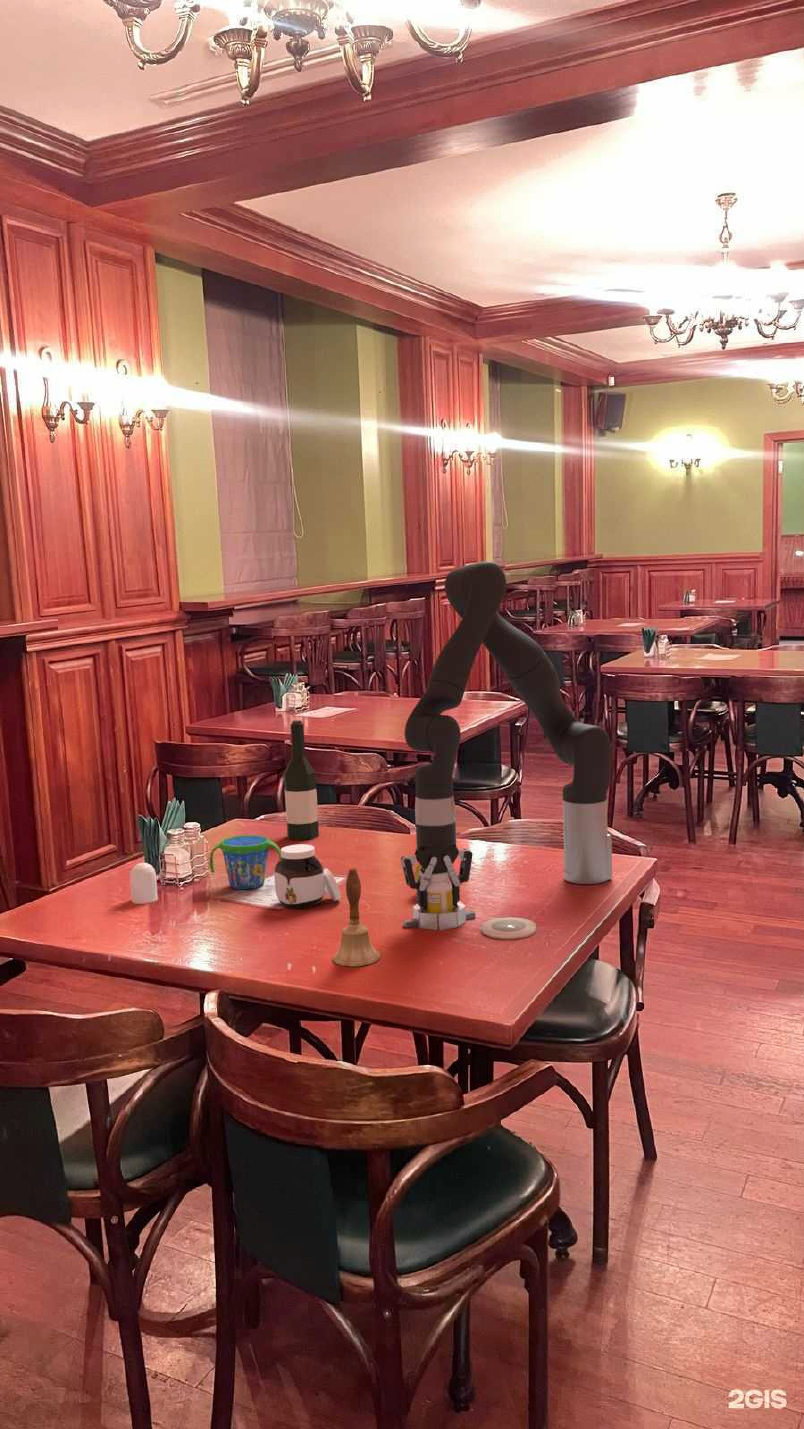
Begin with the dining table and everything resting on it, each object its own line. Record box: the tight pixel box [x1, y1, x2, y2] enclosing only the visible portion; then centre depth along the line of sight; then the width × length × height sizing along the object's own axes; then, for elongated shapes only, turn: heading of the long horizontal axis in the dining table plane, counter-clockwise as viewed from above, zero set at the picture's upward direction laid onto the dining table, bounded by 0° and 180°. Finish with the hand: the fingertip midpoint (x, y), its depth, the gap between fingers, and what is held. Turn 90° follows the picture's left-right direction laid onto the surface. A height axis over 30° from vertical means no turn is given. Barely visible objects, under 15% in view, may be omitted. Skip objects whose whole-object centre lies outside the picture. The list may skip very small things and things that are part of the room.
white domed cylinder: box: [129, 862, 159, 905], centre depth 234 cm, size 5×5×8 cm
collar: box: [402, 900, 476, 931], centre depth 211 cm, size 14×9×3 cm
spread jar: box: [274, 843, 342, 910], centre depth 227 cm, size 12×11×12 cm
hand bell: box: [332, 868, 381, 968], centre depth 192 cm, size 8×8×16 cm
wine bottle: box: [283, 719, 320, 841], centre depth 283 cm, size 8×8×30 cm
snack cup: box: [208, 834, 282, 890], centre depth 241 cm, size 16×10×10 cm
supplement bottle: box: [425, 872, 453, 913], centre depth 211 cm, size 5×5×10 cm
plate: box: [481, 917, 537, 940], centre depth 205 cm, size 10×10×1 cm
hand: (438, 906), depth 211 cm, fingers closed on supplement bottle, 5 cm apart
